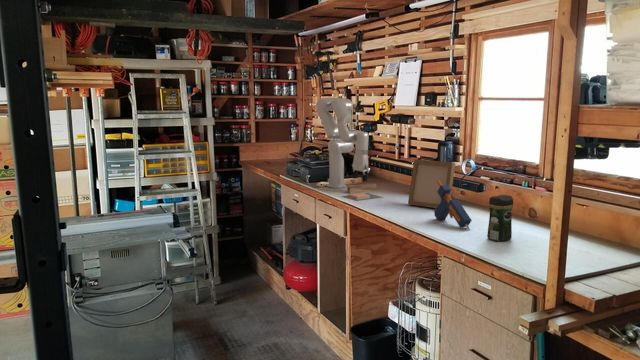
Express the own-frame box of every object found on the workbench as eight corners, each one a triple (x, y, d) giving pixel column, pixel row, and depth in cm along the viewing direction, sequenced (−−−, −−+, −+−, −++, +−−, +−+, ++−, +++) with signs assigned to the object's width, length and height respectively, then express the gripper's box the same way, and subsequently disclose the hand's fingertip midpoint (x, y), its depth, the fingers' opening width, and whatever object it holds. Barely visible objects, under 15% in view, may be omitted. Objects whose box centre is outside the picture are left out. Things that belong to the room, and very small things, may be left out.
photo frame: (445, 211, 255) (448, 163, 252) (407, 205, 268) (409, 160, 265) (456, 206, 267) (459, 160, 263) (419, 201, 280) (421, 158, 276)
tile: (360, 195, 294) (348, 196, 290) (360, 192, 294) (348, 194, 289) (369, 197, 287) (357, 199, 282) (369, 195, 287) (357, 196, 282)
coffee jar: (498, 235, 211) (501, 192, 208) (514, 239, 204) (517, 195, 201) (483, 238, 206) (485, 194, 203) (499, 243, 199) (502, 198, 196)
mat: (340, 197, 291) (340, 196, 291) (367, 193, 302) (367, 192, 301) (356, 202, 278) (356, 201, 278) (384, 198, 288) (384, 197, 288)
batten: (347, 194, 302) (347, 186, 301) (373, 191, 312) (373, 183, 311) (350, 195, 299) (350, 187, 298) (376, 191, 310) (376, 184, 309)
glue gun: (455, 248, 226) (469, 227, 216) (421, 200, 245) (432, 178, 235) (465, 246, 229) (479, 225, 219) (431, 198, 247) (442, 177, 237)
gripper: (348, 150, 307) (347, 177, 310) (365, 154, 292) (363, 182, 296) (358, 149, 311) (356, 176, 314) (375, 154, 296) (373, 181, 300)
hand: (360, 179), depth 305 cm, fingers open, 9 cm apart
